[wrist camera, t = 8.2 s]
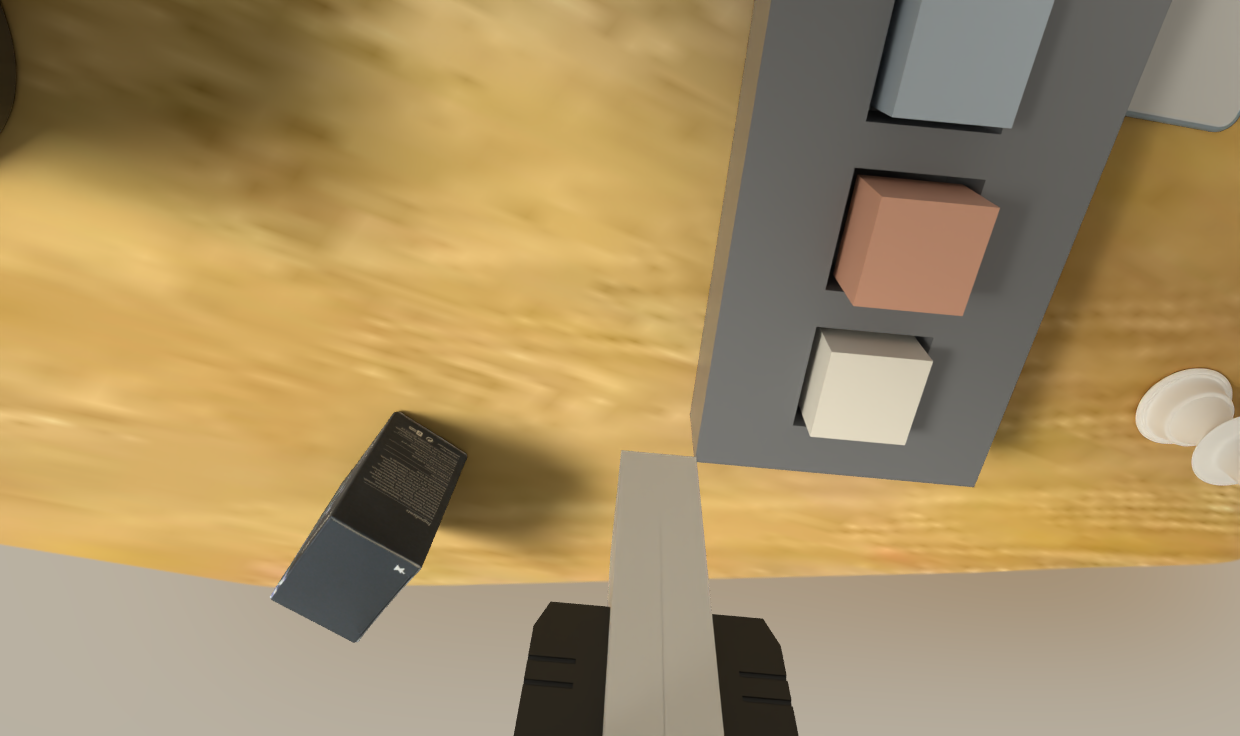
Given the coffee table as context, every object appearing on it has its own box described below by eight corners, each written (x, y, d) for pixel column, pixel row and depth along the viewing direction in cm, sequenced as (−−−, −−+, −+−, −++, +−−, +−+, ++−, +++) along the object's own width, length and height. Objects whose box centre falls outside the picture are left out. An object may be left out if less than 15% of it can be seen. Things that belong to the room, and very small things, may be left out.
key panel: (690, 414, 44) (694, 461, 40) (773, -121, 31) (794, -139, 27) (941, 437, 45) (973, 487, 40) (1132, -86, 31) (1211, -98, 27)
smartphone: (1231, 136, 35) (942, 83, 34) (1217, 132, 36) (935, 81, 35) (1339, -57, 31) (1016, -123, 30) (1320, -56, 32) (1006, -120, 31)
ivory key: (795, 397, 40) (809, 436, 37) (814, 318, 38) (831, 352, 35) (882, 405, 40) (905, 445, 37) (907, 326, 38) (933, 361, 35)
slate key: (866, 103, 33) (892, 117, 29) (895, -20, 30) (927, -20, 27) (972, 113, 33) (1011, 128, 29) (1010, -8, 30) (1057, -8, 27)
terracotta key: (833, 274, 35) (853, 306, 32) (857, 174, 33) (881, 196, 30) (931, 283, 36) (962, 316, 32) (962, 184, 33) (999, 208, 30)
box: (395, 407, 45) (329, 516, 36) (470, 453, 47) (425, 570, 37) (339, 483, 48) (265, 602, 39) (411, 524, 50) (356, 648, 40)
